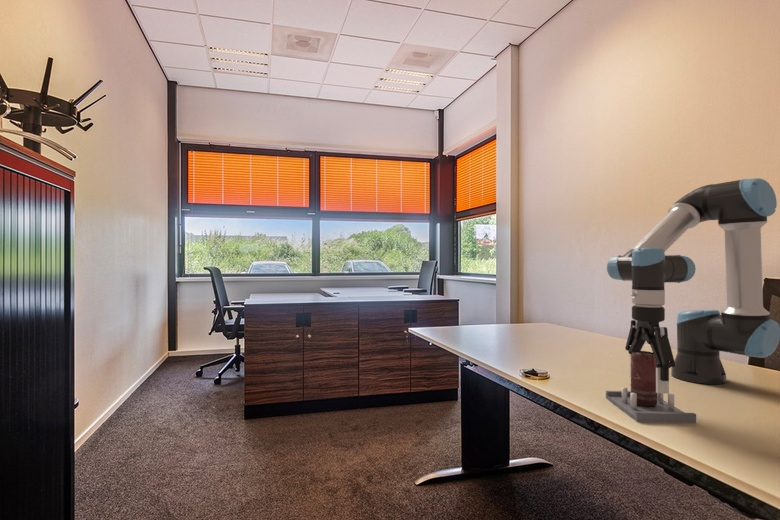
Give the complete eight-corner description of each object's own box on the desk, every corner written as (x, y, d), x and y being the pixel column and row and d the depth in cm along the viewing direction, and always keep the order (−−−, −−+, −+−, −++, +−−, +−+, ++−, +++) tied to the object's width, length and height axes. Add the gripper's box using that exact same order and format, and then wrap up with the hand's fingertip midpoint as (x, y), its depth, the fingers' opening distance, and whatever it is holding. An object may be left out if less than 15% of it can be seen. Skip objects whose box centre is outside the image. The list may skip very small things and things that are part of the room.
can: (650, 409, 111) (650, 356, 110) (626, 402, 116) (626, 351, 116) (662, 405, 114) (662, 353, 114) (638, 398, 119) (638, 349, 119)
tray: (656, 399, 122) (656, 382, 122) (696, 423, 104) (696, 402, 104) (605, 398, 123) (605, 380, 123) (636, 421, 105) (636, 401, 105)
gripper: (612, 301, 126) (612, 372, 126) (659, 310, 101) (659, 400, 101) (639, 301, 125) (639, 372, 125) (692, 311, 100) (692, 400, 100)
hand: (648, 385), depth 113 cm, fingers open, 13 cm apart
